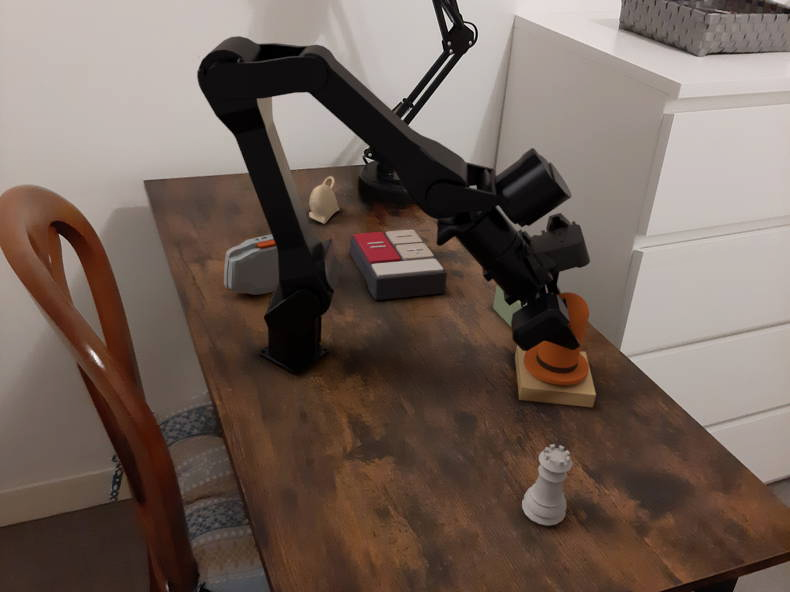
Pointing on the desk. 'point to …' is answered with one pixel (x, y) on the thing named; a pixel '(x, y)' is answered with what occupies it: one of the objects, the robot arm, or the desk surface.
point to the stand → (552, 387)
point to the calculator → (397, 264)
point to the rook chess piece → (548, 488)
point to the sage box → (505, 306)
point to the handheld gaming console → (252, 266)
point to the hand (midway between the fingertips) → (574, 335)
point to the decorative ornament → (323, 202)
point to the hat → (562, 349)
